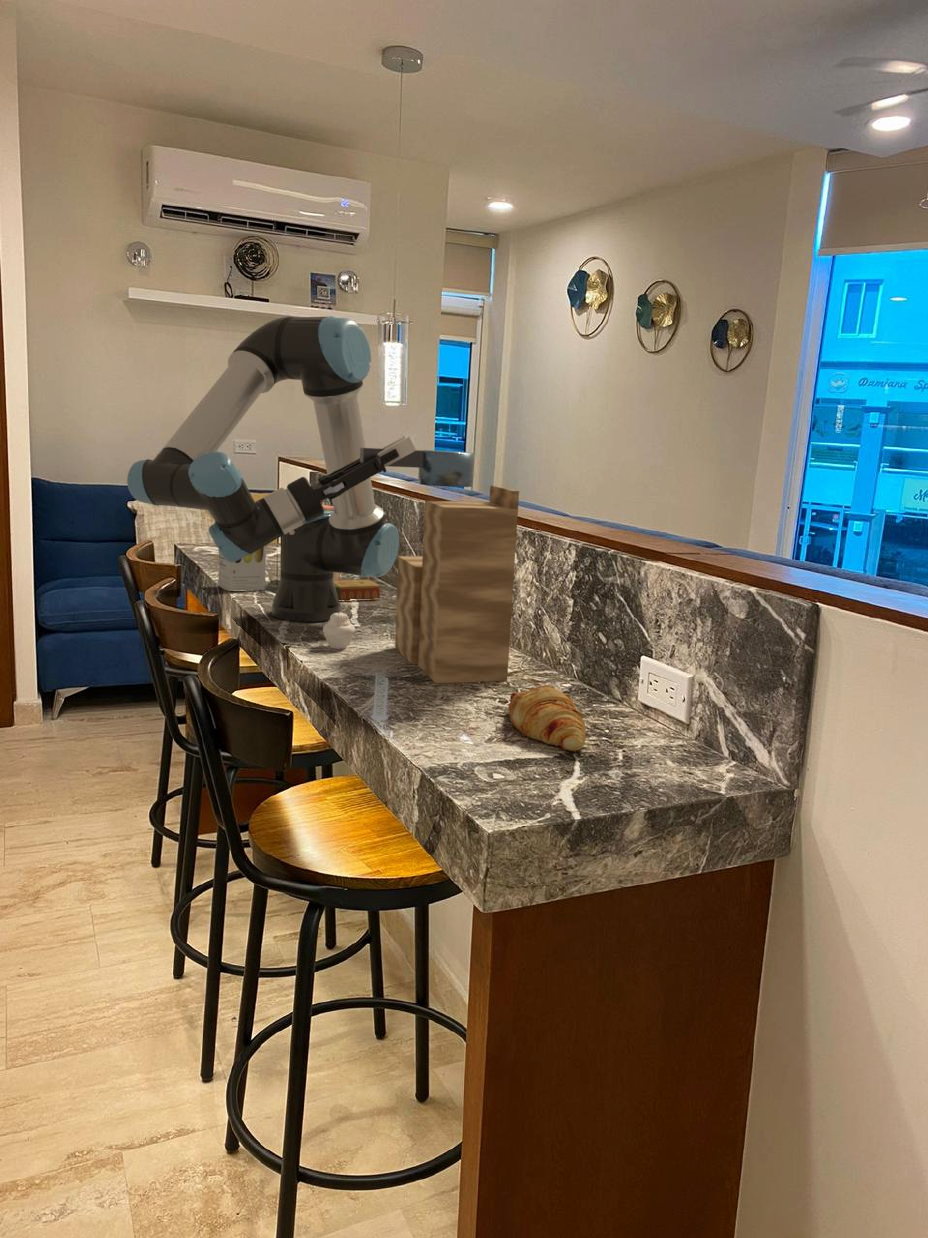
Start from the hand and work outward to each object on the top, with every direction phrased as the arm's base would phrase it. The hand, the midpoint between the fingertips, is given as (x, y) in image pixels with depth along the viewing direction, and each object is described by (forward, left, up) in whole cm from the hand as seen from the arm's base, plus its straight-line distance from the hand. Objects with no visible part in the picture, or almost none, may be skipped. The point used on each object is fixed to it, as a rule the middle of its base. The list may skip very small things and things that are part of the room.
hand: (409, 443), depth 169 cm
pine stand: (+7, +7, -40) cm, 41 cm away
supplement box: (-71, -24, -40) cm, 85 cm away
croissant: (+46, +10, -40) cm, 62 cm away
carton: (-57, -1, -40) cm, 70 cm away
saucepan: (0, +2, -7) cm, 7 cm away
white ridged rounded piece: (-8, -11, -40) cm, 42 cm away
